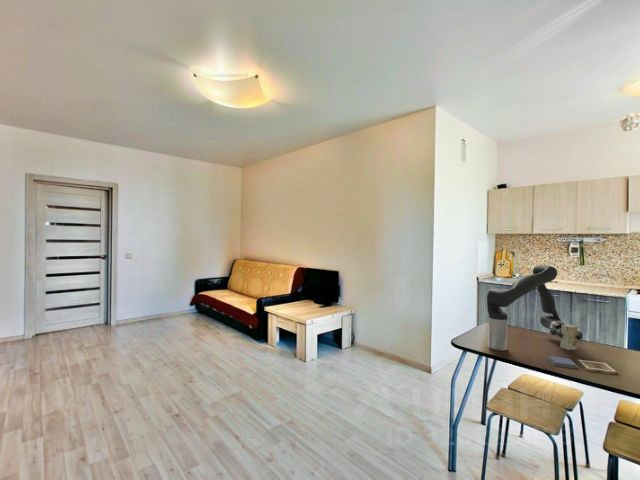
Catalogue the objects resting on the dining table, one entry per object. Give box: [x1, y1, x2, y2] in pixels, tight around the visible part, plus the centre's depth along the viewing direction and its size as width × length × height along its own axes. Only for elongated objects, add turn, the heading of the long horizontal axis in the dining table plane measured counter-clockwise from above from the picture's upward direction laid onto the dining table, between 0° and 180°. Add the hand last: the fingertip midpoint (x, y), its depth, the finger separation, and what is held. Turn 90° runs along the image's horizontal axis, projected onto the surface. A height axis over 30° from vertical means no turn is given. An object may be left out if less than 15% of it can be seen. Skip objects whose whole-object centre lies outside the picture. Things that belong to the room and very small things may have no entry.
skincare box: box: [559, 324, 578, 351], centre depth 166 cm, size 6×4×12 cm
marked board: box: [575, 358, 619, 376], centre depth 151 cm, size 12×12×1 cm
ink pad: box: [547, 355, 580, 370], centre depth 156 cm, size 10×10×2 cm
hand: (570, 337), depth 164 cm, fingers closed on skincare box, 7 cm apart
